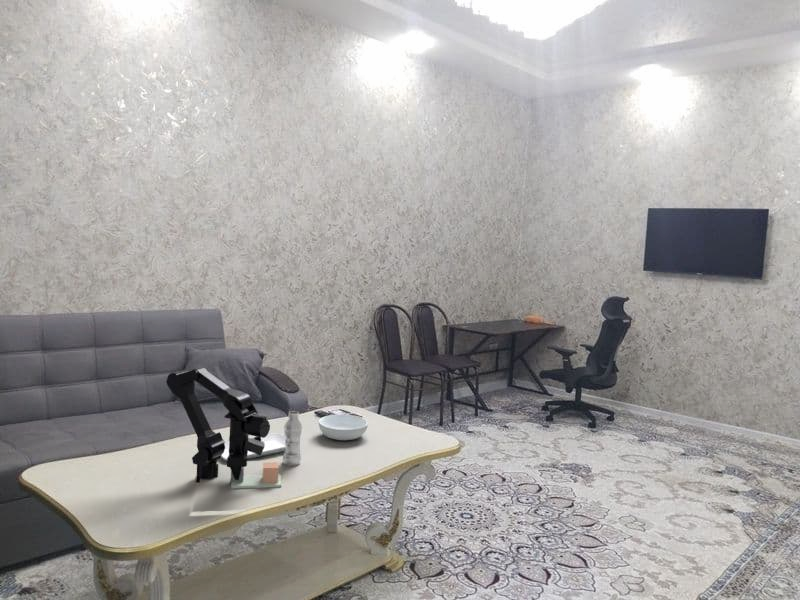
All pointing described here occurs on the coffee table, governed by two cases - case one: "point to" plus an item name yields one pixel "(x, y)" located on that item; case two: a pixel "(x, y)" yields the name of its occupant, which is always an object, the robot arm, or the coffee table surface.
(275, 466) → the terracotta block
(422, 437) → the coffee table surface
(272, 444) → the tray
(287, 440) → the plastic bottle
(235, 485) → the pale green platform
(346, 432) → the serving bowl
